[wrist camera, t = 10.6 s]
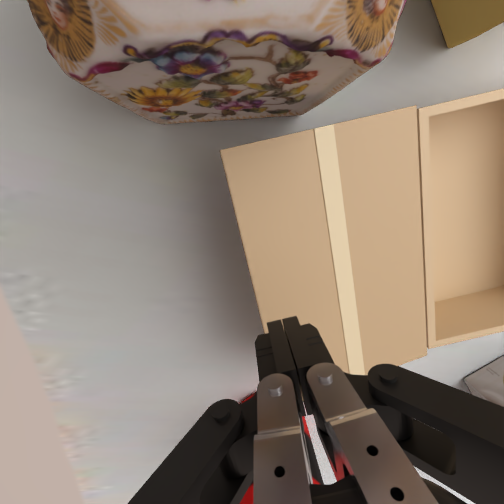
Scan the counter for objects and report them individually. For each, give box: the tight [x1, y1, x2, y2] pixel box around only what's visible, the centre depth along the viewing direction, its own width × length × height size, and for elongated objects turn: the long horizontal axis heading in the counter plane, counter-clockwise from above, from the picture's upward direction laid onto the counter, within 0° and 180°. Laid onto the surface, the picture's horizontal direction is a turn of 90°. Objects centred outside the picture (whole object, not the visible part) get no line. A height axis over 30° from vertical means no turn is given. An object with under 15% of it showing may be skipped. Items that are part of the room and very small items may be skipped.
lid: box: [220, 105, 427, 400], centre depth 20 cm, size 18×12×1 cm, turn 13°
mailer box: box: [417, 88, 504, 349], centre depth 23 cm, size 18×12×6 cm, turn 13°
